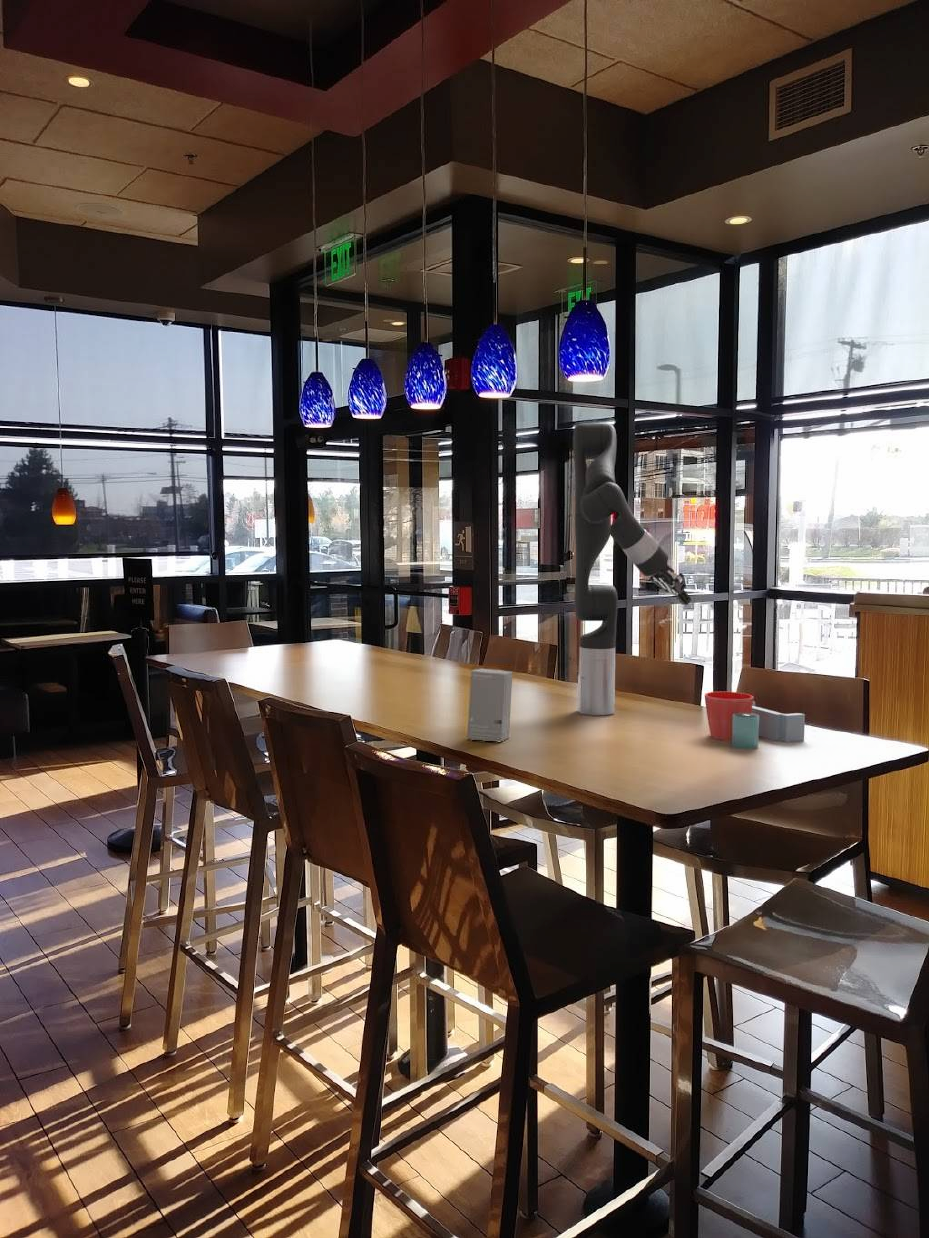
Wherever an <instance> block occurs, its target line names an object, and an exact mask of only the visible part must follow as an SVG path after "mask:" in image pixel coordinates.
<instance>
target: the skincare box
mask: <svg viewBox="0 0 929 1238" xmlns="http://www.w3.org/2000/svg"><path fill="white" fill-rule="evenodd" d="M470 672H471V673H470V686H469V688H470V689H469V700H468V701H469V703H468V704H469V706H468V720H467V721H468V722H467V723H468V724H467V739H473V740H483V741H482V742H485V741H503V742H504V740H505V739H506V738H508V737H509V738H510V727H511V709H512V708H511V706H512V689H513V688H512V687H513V674H514V673H513V671H509V670H508V671H507V670H500V669H490V668H477V669H476V668H475V669H473V670H471V671H470ZM509 738H508V739H509ZM505 741H506V740H505Z"/></svg>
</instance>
